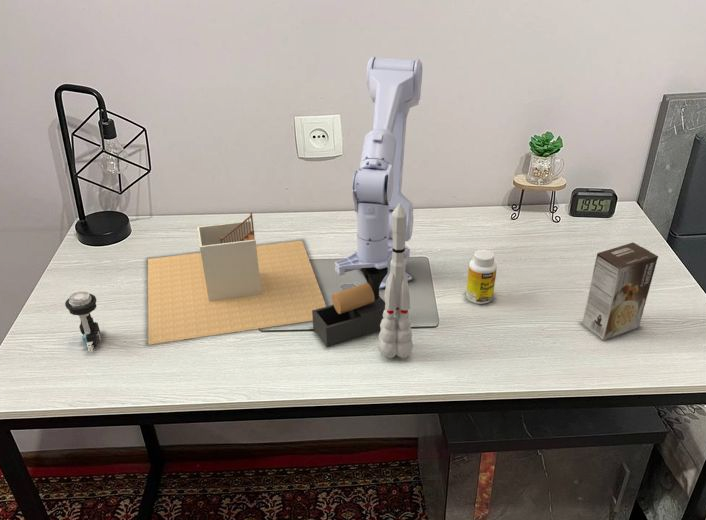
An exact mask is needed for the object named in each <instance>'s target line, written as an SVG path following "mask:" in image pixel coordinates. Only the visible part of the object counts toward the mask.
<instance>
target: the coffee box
mask: <svg viewBox="0 0 706 520" xmlns="http://www.w3.org/2000/svg"><path fill="white" fill-rule="evenodd" d="M658 259H659V256H658V255H657V254H655V253H653V252H651V250H648V249H647V248H645V247H644V246H640V245H639V244H637V243H635V242H630V243H627V244H623V245H620V246H617V247H613V248H609V249H607V250H603V251H599V252H597V253H596V257H595V262H594V267H593V272H592V276H591V281H590V286H589V289H588V295H587V301H586V303H585V304H586V305H585V308H584V313H583V318H582V323H581V324H582V325H583V326H584V327H586V328H587V329H588V330H590V331H591V333H593V334H595V335H596V336H597V337H599V338H600V339H601V340H603V341H605V340H608V339H611V338H614V337H617V336H619V335H622V334H624V333H627V332H630V331H633V330H636V329H638V328H639V327H640V324H641V321H642V317H643V313H644V309H645V306H646V303H647V300H648V295H649V292H650V289H651V284H652V280H653V277H654V274H655V269H656V265H657V262H658Z"/></svg>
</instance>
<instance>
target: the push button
mask: <svg viewBox="0 0 706 520" xmlns="http://www.w3.org/2000/svg"><path fill="white" fill-rule="evenodd" d="M64 306H65V308H66V309H67V310H68V312H69V314H70V315H73V316H78V317H79V319H80V324H79V330H80V333H81V337H82V341H83V343H84V345H85V348H86V349H87V352H92V351H93V349H94V348H97V344H98V340H99V341H101V339H102V336H101V329H100V326H99V323H98V322H97V321H94V317H92V315H91V313H92V312H93V311H95V310H96V308H97V297H96V295H94V294H93V293H89V292H88V291H77V292H74V293H72V294H70V295H69V296H68V298H67V299H66V300H65V303H64Z"/></svg>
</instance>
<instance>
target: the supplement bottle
mask: <svg viewBox="0 0 706 520" xmlns="http://www.w3.org/2000/svg"><path fill="white" fill-rule="evenodd" d="M497 269H498V264H497V262H496V261H495V253H494V252H493V251H492V250H489V249H478V250H476V251H475V252H474V254H473V258H472V259H471V260H470V261H469V264H468V272H467V280H466V281H467V282H466V290H465V297H466V299H467V300H468V301H470V302H471V303H474V304H479V305H482V304H488V303H490V302H491V301H492V300H493V297H494V292H495V285H496V277H497Z"/></svg>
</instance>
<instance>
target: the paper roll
mask: <svg viewBox="0 0 706 520" xmlns="http://www.w3.org/2000/svg"><path fill="white" fill-rule="evenodd" d="M331 300H332V301H331V302H332V305H334V308H335V310H336V311H337V313H338V314H342V313H345V312H347V311H350V310H353V309H356V308H359V307H362V306H365V305H368V304H371V303H374V293H373V290H372V288H371V286H370V285H369V284H368V283H367V282H364V283H361V284H359V285H355V286H352V287H349V288H346V289H342V290H341V291H336V292H333V293H332V294H331Z"/></svg>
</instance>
